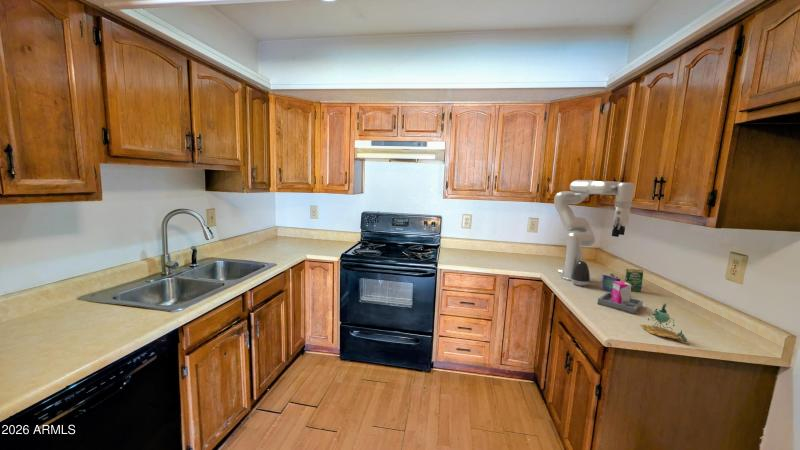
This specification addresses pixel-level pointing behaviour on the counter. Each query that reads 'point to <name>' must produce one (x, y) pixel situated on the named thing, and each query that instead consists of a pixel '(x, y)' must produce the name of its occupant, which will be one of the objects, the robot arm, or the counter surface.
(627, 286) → the supplement box
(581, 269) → the dark grey domed cylinder
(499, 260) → the counter surface
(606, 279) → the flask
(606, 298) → the tray
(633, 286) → the coffee box
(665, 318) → the frog figurine
